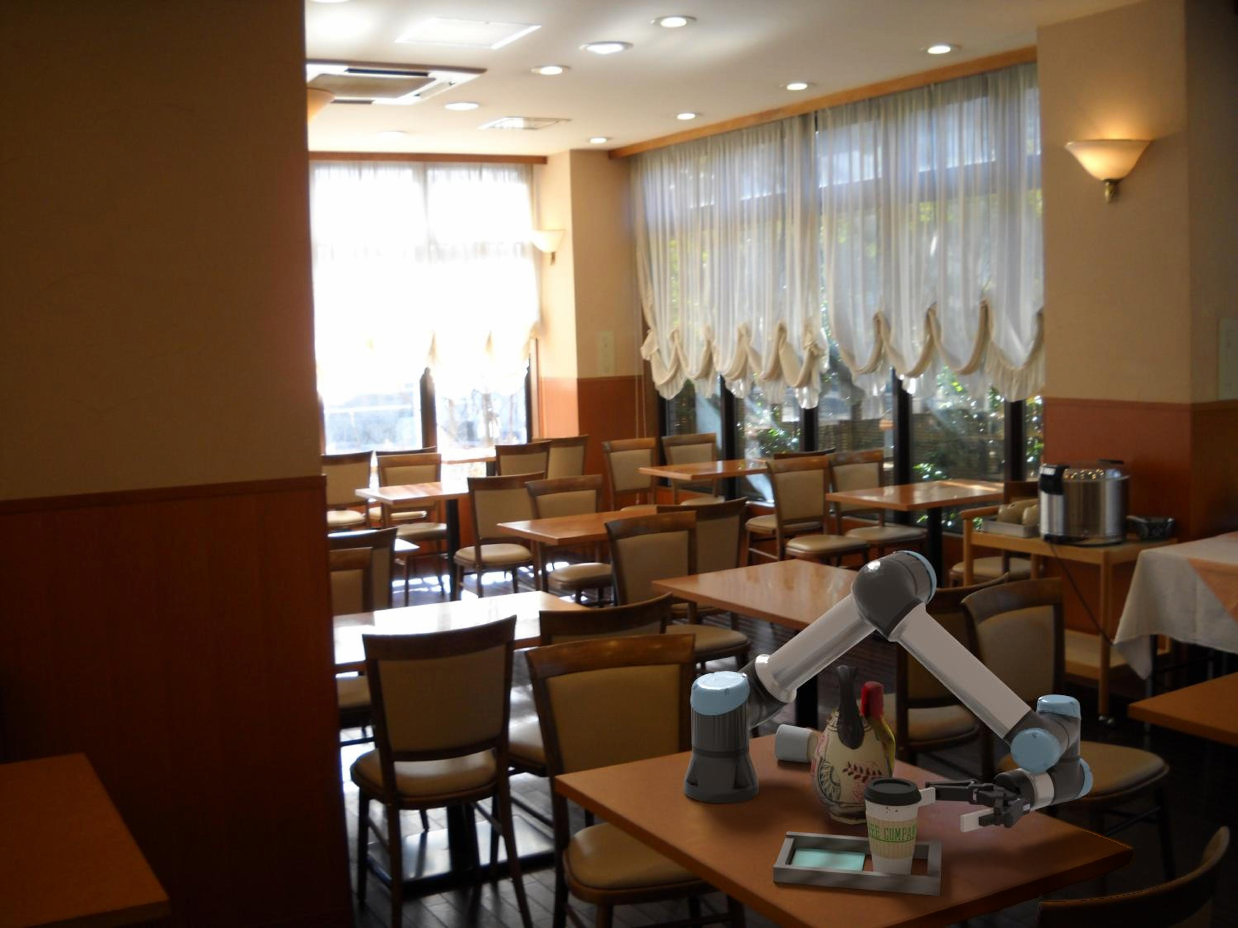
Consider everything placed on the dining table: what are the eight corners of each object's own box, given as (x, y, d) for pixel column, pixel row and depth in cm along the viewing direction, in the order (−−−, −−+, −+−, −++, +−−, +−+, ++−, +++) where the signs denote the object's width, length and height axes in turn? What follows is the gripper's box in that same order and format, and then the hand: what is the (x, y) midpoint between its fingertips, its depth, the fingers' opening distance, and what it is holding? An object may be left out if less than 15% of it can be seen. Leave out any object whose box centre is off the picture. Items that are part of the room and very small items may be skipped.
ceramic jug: (813, 801, 255) (811, 651, 253) (892, 805, 252) (892, 653, 250) (807, 831, 239) (806, 672, 237) (893, 836, 236) (892, 674, 233)
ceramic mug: (810, 767, 277) (810, 732, 276) (773, 763, 280) (773, 728, 280) (823, 754, 286) (823, 720, 286) (788, 750, 290) (788, 717, 289)
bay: (773, 881, 216) (773, 860, 216) (787, 844, 232) (786, 825, 232) (939, 895, 209) (939, 874, 209) (941, 856, 225) (941, 837, 225)
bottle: (902, 779, 268) (902, 684, 266) (881, 785, 264) (881, 689, 262) (859, 765, 277) (859, 674, 276) (839, 771, 274) (838, 678, 272)
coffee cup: (857, 878, 216) (857, 791, 215) (868, 857, 225) (867, 773, 224) (917, 886, 213) (917, 797, 212) (925, 864, 222) (925, 779, 221)
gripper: (1076, 831, 223) (987, 856, 213) (970, 791, 245) (884, 812, 234) (1076, 788, 223) (987, 811, 212) (970, 752, 244) (884, 772, 234)
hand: (933, 812), depth 223 cm, fingers open, 13 cm apart
